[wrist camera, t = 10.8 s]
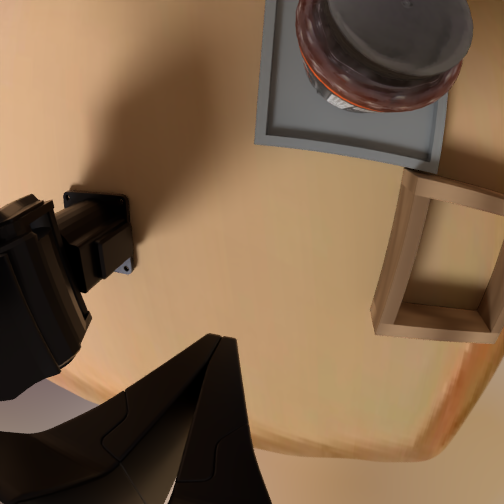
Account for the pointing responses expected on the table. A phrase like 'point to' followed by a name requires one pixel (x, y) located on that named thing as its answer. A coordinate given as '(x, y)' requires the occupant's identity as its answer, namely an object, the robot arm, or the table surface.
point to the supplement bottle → (383, 51)
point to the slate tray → (333, 109)
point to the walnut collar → (403, 256)
